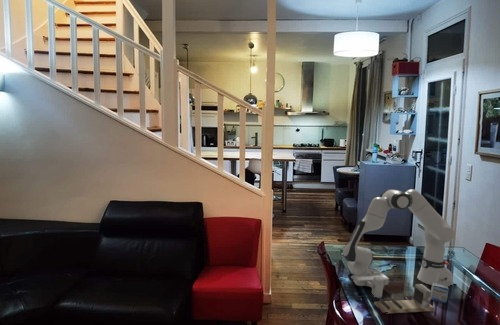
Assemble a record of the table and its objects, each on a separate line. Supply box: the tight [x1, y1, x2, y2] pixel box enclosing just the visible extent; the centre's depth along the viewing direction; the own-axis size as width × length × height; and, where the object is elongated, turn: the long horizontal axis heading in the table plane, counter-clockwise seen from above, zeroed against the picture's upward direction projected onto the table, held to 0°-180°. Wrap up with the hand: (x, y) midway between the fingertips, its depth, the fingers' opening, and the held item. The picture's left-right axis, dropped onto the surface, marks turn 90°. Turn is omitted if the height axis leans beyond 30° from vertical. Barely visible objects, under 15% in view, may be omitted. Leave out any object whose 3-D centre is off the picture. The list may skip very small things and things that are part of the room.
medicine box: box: [430, 283, 450, 304], centre depth 203 cm, size 8×4×9 cm, turn 69°
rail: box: [373, 283, 435, 314], centre depth 191 cm, size 30×8×11 cm, turn 103°
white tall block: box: [371, 277, 384, 299], centre depth 202 cm, size 4×4×10 cm
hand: (378, 286), depth 202 cm, fingers closed on white tall block, 4 cm apart
